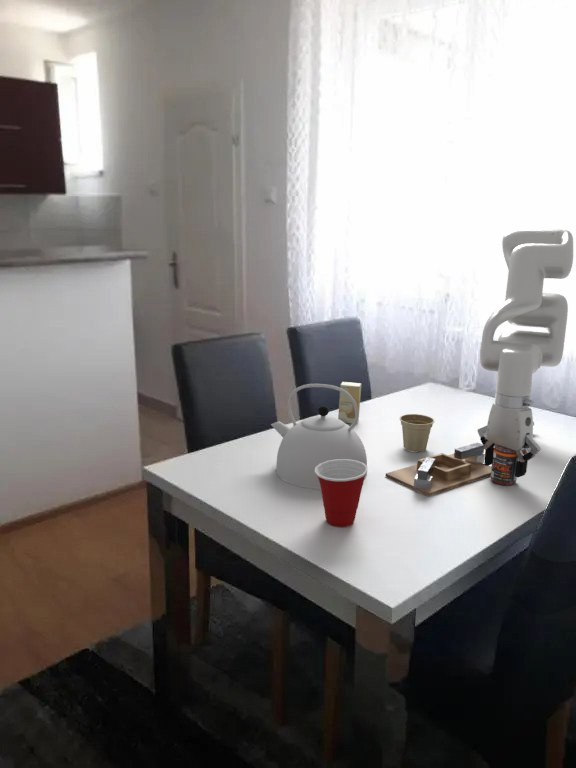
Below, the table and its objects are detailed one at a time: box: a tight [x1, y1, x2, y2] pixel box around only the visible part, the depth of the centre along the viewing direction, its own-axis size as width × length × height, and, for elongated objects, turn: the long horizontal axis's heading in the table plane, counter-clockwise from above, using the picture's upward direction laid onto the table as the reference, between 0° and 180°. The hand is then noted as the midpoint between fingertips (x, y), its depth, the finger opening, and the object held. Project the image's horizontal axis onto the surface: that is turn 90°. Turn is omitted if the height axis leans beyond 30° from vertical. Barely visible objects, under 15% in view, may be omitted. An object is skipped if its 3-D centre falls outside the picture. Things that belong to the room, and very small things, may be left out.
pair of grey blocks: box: [414, 442, 485, 491], centre depth 153 cm, size 28×8×5 cm, turn 126°
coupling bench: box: [385, 452, 492, 497], centre depth 155 cm, size 26×14×3 cm, turn 126°
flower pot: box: [399, 413, 435, 453], centre depth 172 cm, size 9×9×9 cm
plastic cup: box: [315, 459, 369, 528], centre depth 128 cm, size 11×11×12 cm
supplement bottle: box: [490, 445, 519, 486], centre depth 150 cm, size 6×6×11 cm
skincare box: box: [337, 381, 362, 425], centre depth 195 cm, size 6×4×12 cm
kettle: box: [270, 383, 368, 491], centre depth 154 cm, size 25×23×23 cm
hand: (504, 469), depth 151 cm, fingers open, 8 cm apart
